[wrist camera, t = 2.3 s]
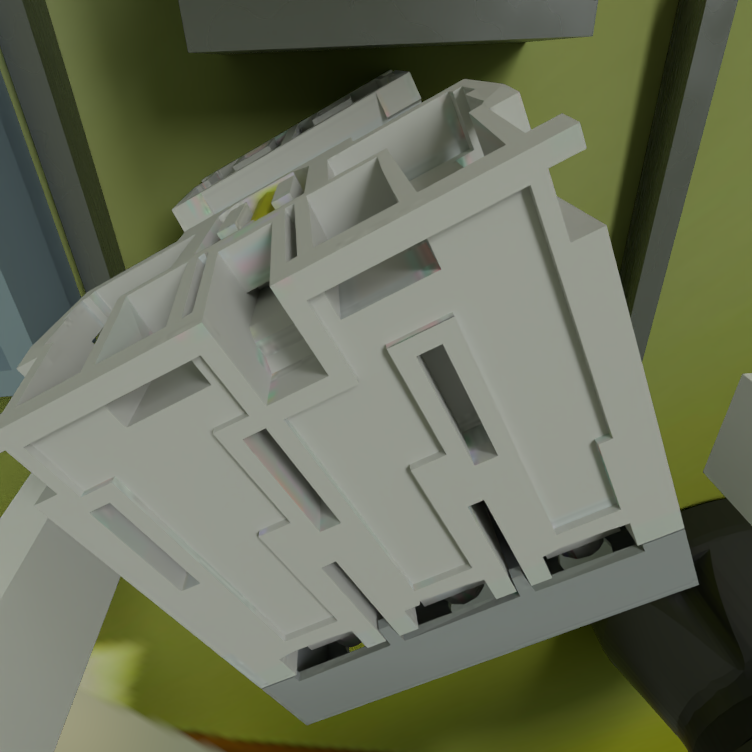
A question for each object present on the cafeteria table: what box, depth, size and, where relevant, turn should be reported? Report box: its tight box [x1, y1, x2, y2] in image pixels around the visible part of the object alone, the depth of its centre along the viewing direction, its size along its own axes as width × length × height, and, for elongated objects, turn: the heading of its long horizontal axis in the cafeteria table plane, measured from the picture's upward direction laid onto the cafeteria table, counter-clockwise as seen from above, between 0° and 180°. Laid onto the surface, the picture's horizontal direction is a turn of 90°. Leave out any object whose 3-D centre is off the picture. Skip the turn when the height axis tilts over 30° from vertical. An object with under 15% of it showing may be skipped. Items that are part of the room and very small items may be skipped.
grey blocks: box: [0, 0, 738, 361], centre depth 19 cm, size 20×22×5 cm
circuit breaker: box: [0, 69, 699, 725], centre depth 15 cm, size 8×14×15 cm, turn 26°
